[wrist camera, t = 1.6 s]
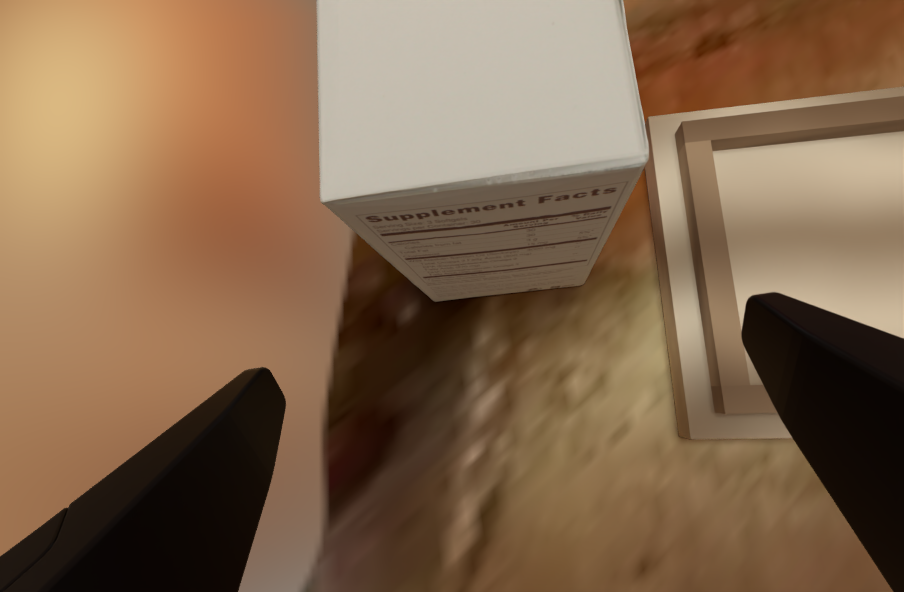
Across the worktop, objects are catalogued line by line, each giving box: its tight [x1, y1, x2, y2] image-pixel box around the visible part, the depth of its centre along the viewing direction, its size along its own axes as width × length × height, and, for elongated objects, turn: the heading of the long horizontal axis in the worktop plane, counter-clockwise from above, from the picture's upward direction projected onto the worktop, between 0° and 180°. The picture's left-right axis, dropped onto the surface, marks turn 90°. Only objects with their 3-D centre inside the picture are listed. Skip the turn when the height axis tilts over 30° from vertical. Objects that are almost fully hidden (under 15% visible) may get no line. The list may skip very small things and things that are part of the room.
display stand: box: [645, 87, 904, 440], centre depth 18 cm, size 14×14×2 cm
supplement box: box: [317, 0, 649, 302], centre depth 16 cm, size 7×7×13 cm
